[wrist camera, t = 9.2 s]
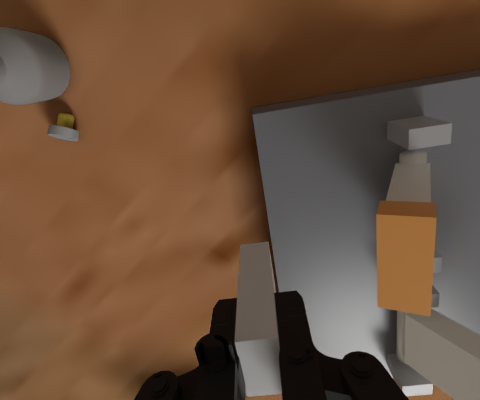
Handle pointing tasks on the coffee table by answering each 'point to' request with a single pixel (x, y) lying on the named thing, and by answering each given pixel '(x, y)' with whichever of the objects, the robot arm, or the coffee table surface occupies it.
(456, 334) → the breaker
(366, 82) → the coffee table surface
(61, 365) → the coffee table surface
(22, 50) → the reed diffuser
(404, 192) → the breaker
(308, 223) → the breaker panel
